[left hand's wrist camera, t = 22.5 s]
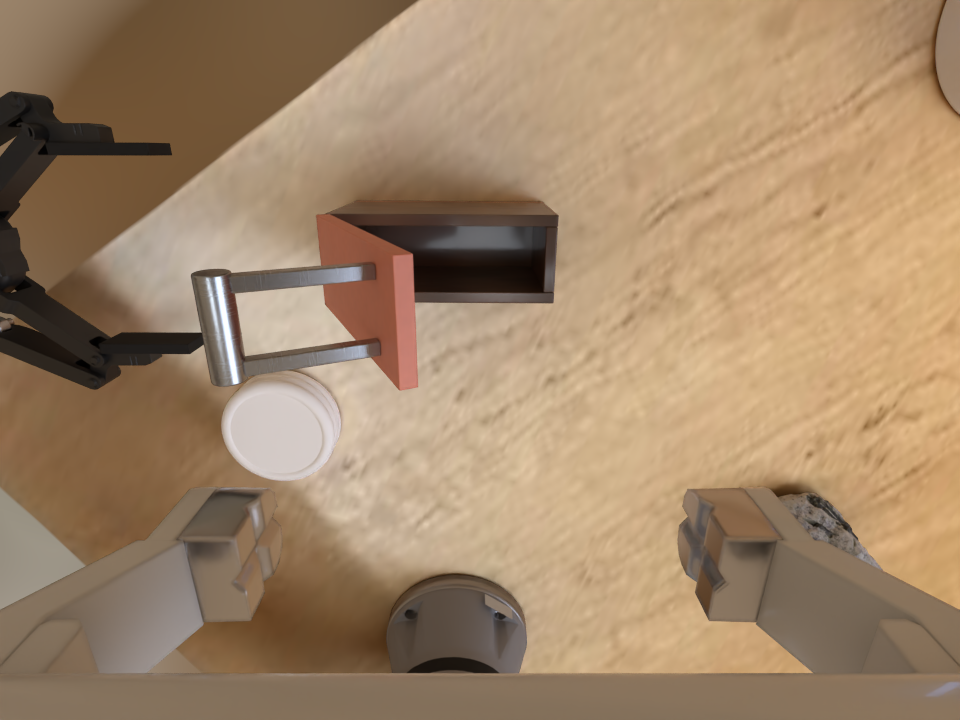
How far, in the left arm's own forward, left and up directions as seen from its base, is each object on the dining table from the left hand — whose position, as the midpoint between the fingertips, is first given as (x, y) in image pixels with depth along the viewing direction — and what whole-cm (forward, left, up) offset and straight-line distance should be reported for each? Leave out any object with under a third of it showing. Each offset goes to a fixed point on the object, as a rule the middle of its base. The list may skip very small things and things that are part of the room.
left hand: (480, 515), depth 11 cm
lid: (+4, -5, -20) cm, 21 cm away
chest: (+2, -2, -36) cm, 37 cm away
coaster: (+24, -3, -36) cm, 44 cm away
